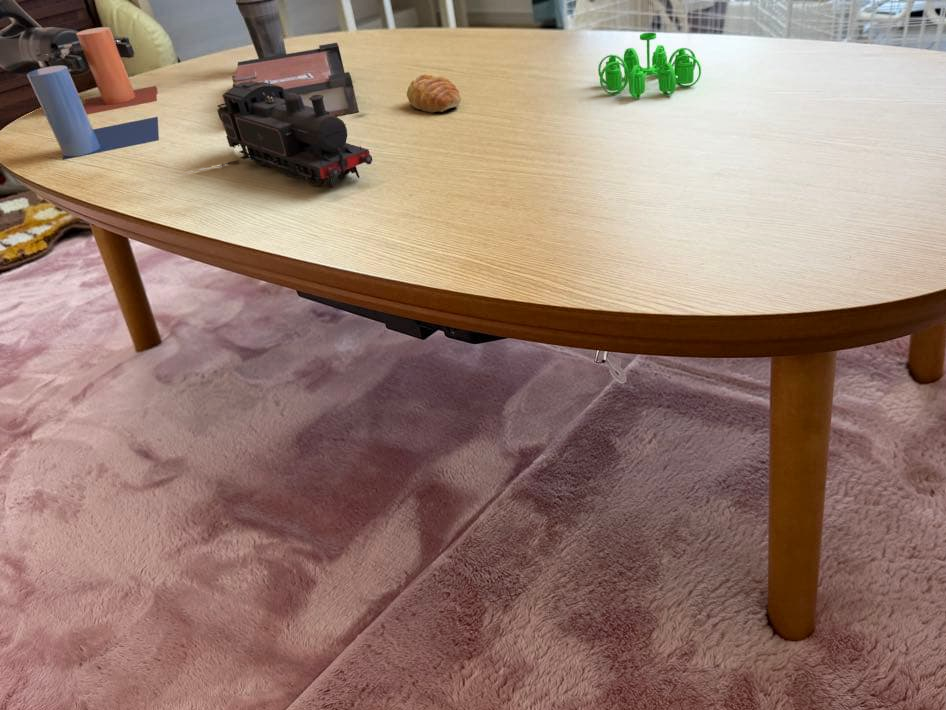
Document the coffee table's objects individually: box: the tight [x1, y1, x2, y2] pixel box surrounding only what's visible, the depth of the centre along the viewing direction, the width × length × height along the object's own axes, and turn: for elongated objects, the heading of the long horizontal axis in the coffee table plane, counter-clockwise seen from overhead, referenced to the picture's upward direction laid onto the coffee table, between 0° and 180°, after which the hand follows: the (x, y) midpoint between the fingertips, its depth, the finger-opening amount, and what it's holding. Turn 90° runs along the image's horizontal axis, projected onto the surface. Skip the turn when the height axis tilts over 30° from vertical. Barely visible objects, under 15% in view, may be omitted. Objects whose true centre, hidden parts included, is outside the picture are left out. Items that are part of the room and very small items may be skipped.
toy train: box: [216, 81, 373, 189], centre depth 98 cm, size 8×25×10 cm, turn 45°
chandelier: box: [597, 32, 702, 99], centre depth 113 cm, size 15×15×7 cm
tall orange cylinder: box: [76, 26, 136, 104], centre depth 135 cm, size 5×5×11 cm
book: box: [231, 42, 360, 117], centre depth 127 cm, size 26×18×5 cm
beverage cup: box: [235, 0, 287, 59], centre depth 142 cm, size 7×7×20 cm
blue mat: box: [62, 116, 160, 161], centre depth 120 cm, size 13×14×1 cm
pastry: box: [406, 73, 462, 114], centre depth 116 cm, size 9×7×4 cm
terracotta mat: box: [83, 85, 158, 115], centre depth 138 cm, size 12×12×1 cm
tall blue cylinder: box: [26, 66, 100, 158], centre depth 112 cm, size 5×5×11 cm
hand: (106, 57), depth 133 cm, fingers open, 8 cm apart
